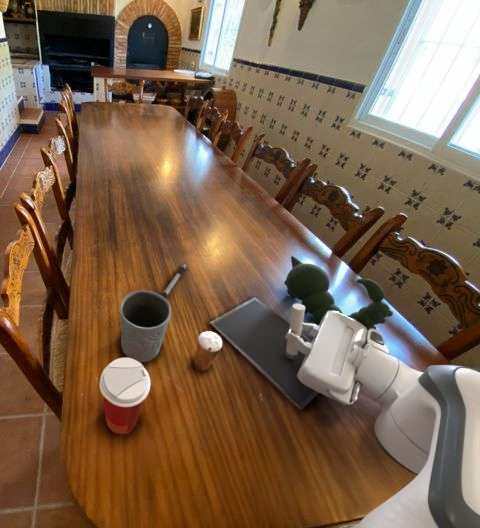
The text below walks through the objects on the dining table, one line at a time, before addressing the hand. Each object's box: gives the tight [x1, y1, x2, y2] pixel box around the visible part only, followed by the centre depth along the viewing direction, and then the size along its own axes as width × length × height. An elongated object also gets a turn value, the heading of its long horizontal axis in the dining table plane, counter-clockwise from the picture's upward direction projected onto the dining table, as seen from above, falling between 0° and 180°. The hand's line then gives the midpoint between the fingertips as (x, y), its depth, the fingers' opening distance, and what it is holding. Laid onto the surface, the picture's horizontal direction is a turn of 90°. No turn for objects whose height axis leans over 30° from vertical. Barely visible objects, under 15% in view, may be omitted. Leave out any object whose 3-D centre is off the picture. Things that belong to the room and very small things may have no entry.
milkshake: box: [193, 330, 223, 372], centre depth 59 cm, size 4×5×10 cm
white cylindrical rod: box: [286, 303, 305, 360], centre depth 61 cm, size 2×2×13 cm
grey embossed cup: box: [119, 290, 172, 363], centre depth 62 cm, size 10×10×12 cm
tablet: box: [208, 296, 320, 412], centre depth 67 cm, size 24×17×1 cm
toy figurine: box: [283, 255, 394, 331], centre depth 70 cm, size 9×19×25 cm
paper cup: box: [98, 357, 151, 435], centre depth 49 cm, size 8×8×14 cm
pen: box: [161, 263, 187, 299], centre depth 82 cm, size 1×16×1 cm, turn 150°
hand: (290, 327), depth 62 cm, fingers closed on white cylindrical rod, 2 cm apart
